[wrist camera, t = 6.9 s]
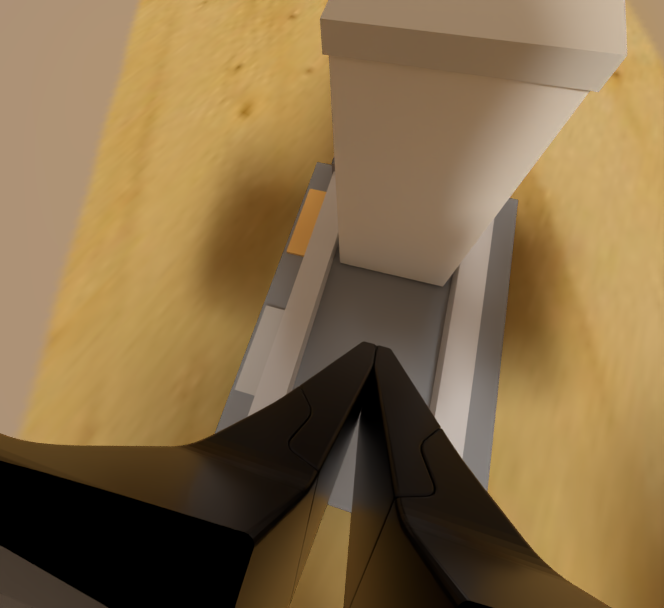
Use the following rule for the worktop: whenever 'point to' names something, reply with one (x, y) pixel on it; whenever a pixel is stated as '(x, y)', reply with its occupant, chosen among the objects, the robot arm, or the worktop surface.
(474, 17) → the slider tab
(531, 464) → the worktop surface
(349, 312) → the switch base
